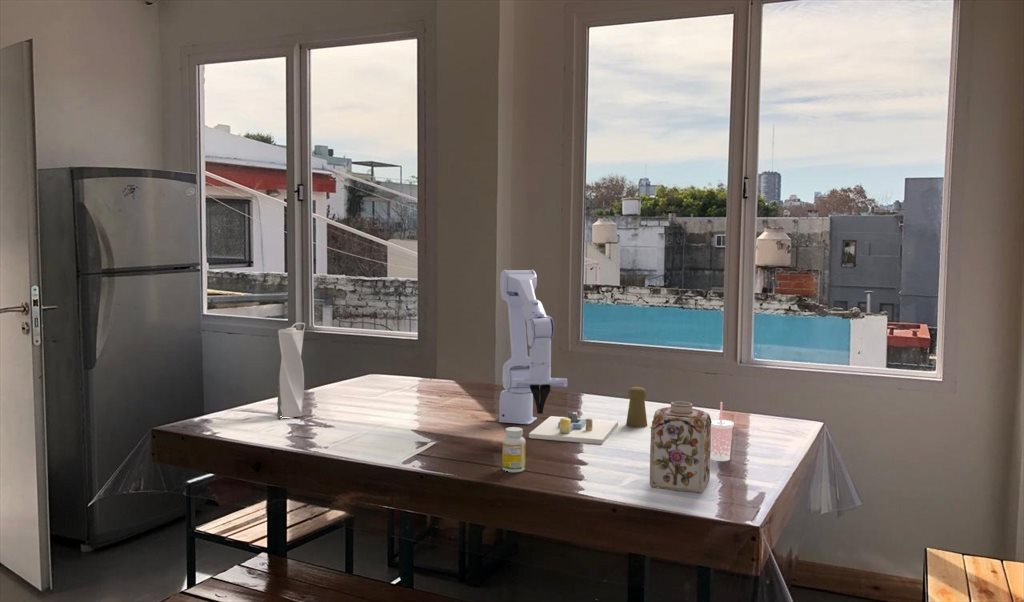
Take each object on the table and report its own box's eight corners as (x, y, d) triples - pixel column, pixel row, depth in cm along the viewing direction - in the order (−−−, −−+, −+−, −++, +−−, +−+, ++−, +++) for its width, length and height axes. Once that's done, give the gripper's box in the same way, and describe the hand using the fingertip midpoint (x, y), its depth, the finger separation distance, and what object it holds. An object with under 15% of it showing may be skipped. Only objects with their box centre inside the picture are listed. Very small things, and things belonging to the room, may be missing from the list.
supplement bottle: (515, 474, 188) (515, 433, 187) (497, 469, 192) (497, 429, 191) (530, 469, 192) (530, 428, 192) (512, 464, 196) (512, 425, 195)
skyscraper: (305, 412, 251) (304, 320, 248) (308, 418, 243) (306, 323, 241) (277, 414, 248) (275, 321, 246) (278, 420, 240) (276, 324, 238)
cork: (646, 428, 233) (647, 389, 232) (625, 427, 234) (626, 388, 233) (647, 423, 239) (648, 385, 238) (626, 422, 240) (627, 384, 239)
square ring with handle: (564, 421, 234) (564, 409, 233) (586, 423, 232) (586, 411, 231) (552, 431, 222) (552, 419, 221) (575, 433, 220) (575, 421, 219)
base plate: (528, 438, 221) (528, 433, 221) (550, 420, 242) (550, 416, 242) (602, 444, 215) (602, 439, 215) (618, 425, 236) (618, 421, 236)
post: (566, 431, 229) (566, 413, 228) (568, 428, 231) (568, 411, 231) (576, 431, 228) (576, 414, 228) (578, 429, 231) (578, 411, 230)
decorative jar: (648, 487, 179) (649, 405, 177) (658, 473, 190) (660, 395, 188) (704, 494, 175) (706, 410, 173) (711, 478, 186) (713, 399, 184)
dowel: (585, 434, 225) (585, 419, 224) (586, 433, 226) (586, 418, 226) (591, 435, 224) (591, 420, 224) (592, 433, 226) (593, 418, 225)
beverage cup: (737, 460, 200) (739, 403, 199) (715, 462, 198) (716, 405, 197) (724, 454, 206) (725, 398, 205) (702, 456, 204) (703, 400, 203)
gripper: (513, 365, 216) (513, 416, 217) (568, 365, 216) (568, 416, 217) (512, 361, 223) (512, 410, 224) (566, 360, 223) (565, 410, 224)
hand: (539, 413), depth 221 cm, fingers closed
